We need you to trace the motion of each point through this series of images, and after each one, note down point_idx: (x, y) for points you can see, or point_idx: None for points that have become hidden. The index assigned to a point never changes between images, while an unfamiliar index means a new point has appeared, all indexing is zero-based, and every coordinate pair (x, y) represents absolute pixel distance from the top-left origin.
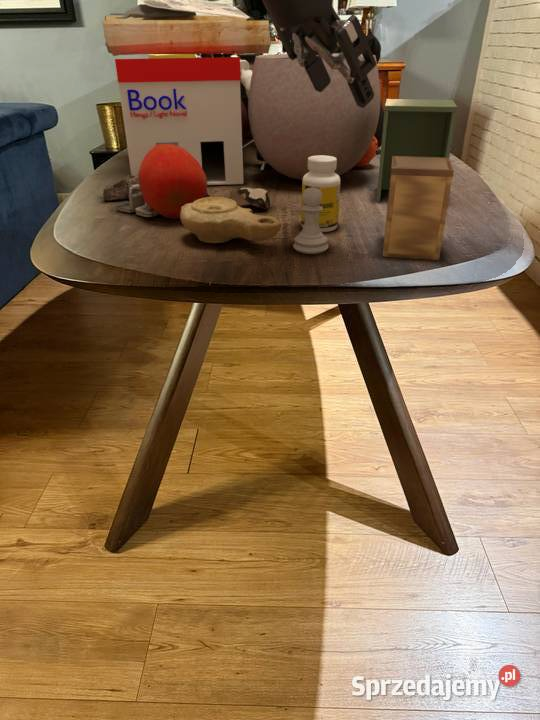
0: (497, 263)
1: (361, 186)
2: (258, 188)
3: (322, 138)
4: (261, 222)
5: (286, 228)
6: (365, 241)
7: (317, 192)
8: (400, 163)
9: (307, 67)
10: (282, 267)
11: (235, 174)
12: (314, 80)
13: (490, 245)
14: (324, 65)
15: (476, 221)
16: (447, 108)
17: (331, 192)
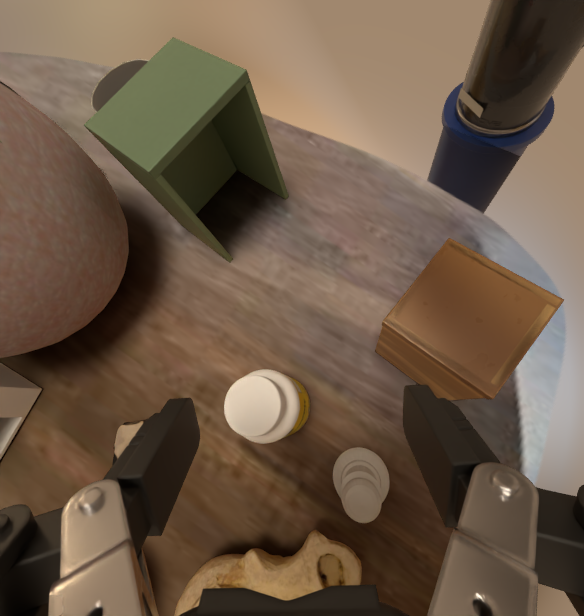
0: (526, 278)
1: (159, 238)
2: (127, 432)
3: (89, 280)
4: (320, 574)
5: (260, 454)
6: (370, 381)
7: (377, 501)
8: (458, 353)
9: (150, 530)
10: (418, 575)
11: (19, 400)
12: (182, 476)
13: (460, 242)
14: (162, 438)
15: (368, 199)
16: (236, 85)
17: (301, 405)
